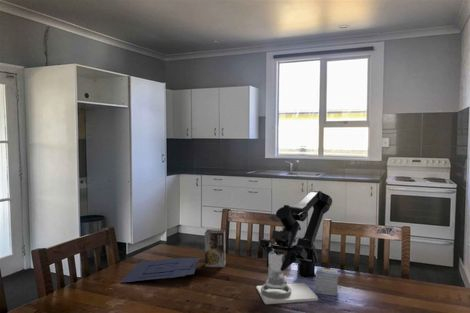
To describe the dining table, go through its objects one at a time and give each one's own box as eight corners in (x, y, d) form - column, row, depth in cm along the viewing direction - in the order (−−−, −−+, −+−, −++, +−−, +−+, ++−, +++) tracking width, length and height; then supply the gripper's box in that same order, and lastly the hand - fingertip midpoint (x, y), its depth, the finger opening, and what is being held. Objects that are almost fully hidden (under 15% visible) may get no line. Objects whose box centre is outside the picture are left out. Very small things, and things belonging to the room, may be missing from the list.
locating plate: (304, 285, 147) (304, 279, 147) (318, 300, 133) (318, 293, 133) (256, 288, 144) (256, 282, 144) (265, 304, 130) (265, 297, 130)
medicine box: (337, 292, 141) (338, 270, 141) (337, 296, 137) (337, 274, 136) (317, 289, 144) (317, 267, 143) (315, 293, 139) (316, 271, 139)
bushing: (278, 279, 143) (279, 249, 143) (291, 286, 136) (291, 255, 136) (261, 282, 139) (261, 252, 139) (273, 290, 132) (273, 258, 132)
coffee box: (225, 262, 173) (226, 229, 172) (224, 267, 166) (224, 232, 166) (206, 262, 174) (207, 228, 173) (204, 266, 167) (204, 232, 167)
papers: (193, 282, 146) (192, 273, 146) (120, 289, 148) (119, 280, 148) (201, 262, 171) (200, 254, 170) (139, 268, 172) (138, 260, 172)
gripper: (261, 218, 145) (245, 252, 137) (304, 225, 134) (289, 263, 126) (271, 233, 152) (256, 267, 144) (313, 241, 141) (299, 278, 133)
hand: (274, 268), depth 136 cm, fingers closed on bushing, 6 cm apart
